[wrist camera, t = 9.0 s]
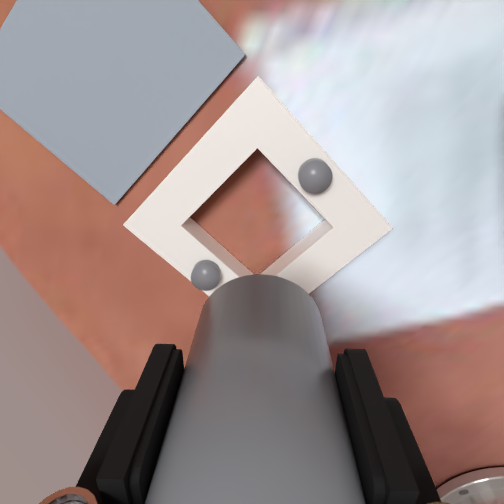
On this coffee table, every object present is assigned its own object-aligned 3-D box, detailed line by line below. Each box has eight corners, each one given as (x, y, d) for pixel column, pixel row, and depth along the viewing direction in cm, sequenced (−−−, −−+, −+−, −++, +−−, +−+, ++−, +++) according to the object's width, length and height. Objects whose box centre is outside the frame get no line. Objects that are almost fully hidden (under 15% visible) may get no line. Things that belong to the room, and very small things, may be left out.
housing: (382, 216, 23) (397, 233, 20) (256, 318, 27) (255, 342, 24) (258, 76, 20) (257, 75, 17) (133, 214, 23) (118, 229, 21)
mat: (245, 54, 19) (245, 54, 19) (116, 203, 23) (114, 205, 23) (91, -120, 16) (89, -124, 16) (-27, 82, 20) (-31, 83, 20)
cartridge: (328, 274, 12) (521, 845, 3) (318, 377, 14) (414, 916, 5) (194, 271, 12) (-21, 807, 3) (201, 374, 14) (83, 890, 5)
